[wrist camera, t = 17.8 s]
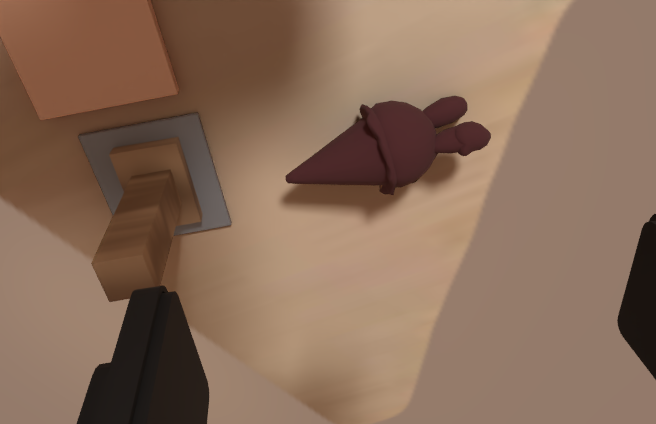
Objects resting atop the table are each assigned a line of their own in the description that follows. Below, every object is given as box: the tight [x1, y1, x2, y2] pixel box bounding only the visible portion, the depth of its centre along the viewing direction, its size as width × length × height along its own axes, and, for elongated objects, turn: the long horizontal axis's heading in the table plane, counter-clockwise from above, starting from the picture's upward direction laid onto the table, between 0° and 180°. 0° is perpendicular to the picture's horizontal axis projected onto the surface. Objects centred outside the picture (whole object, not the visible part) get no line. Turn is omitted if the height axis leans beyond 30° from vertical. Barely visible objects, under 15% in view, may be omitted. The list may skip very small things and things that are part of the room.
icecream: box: [286, 96, 491, 195], centre depth 40 cm, size 7×7×15 cm
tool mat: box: [78, 113, 231, 236], centre depth 43 cm, size 10×9×1 cm
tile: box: [0, 0, 179, 120], centre depth 36 cm, size 12×2×10 cm
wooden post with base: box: [91, 137, 203, 302], centre depth 37 cm, size 7×5×12 cm
